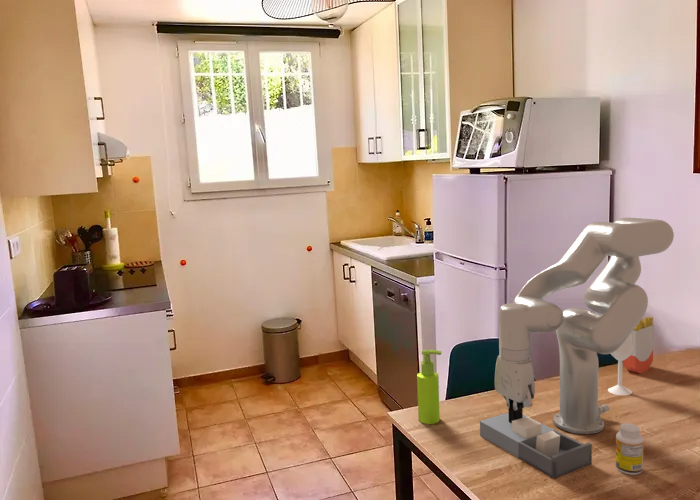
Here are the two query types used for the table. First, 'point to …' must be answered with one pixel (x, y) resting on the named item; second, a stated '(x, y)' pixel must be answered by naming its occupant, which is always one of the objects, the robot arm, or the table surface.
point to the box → (558, 457)
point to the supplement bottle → (629, 449)
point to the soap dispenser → (428, 390)
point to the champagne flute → (621, 355)
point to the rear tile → (526, 427)
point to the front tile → (548, 443)
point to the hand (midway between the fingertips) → (515, 422)
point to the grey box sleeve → (506, 433)
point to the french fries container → (641, 347)
